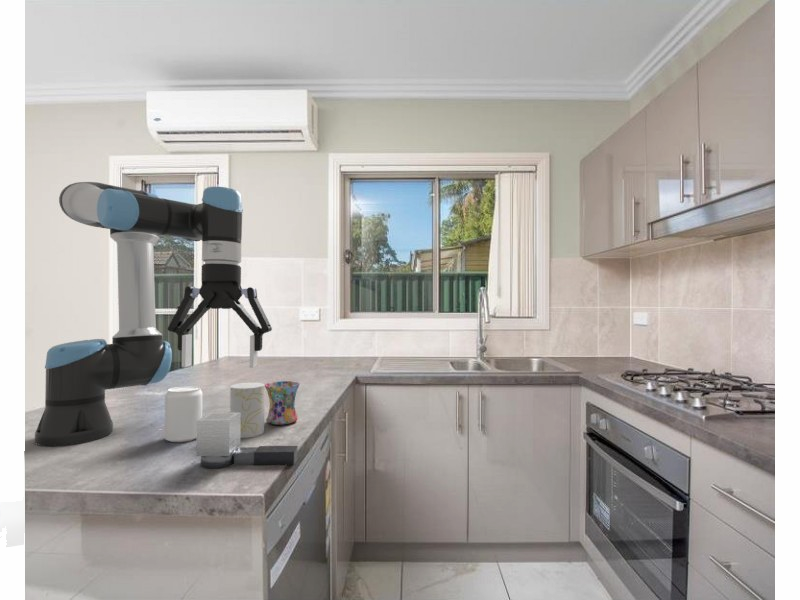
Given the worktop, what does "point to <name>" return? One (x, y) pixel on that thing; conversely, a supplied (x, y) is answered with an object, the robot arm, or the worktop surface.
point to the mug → (282, 402)
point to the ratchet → (253, 457)
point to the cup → (248, 407)
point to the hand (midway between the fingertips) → (220, 366)
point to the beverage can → (182, 413)
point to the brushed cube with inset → (218, 434)
